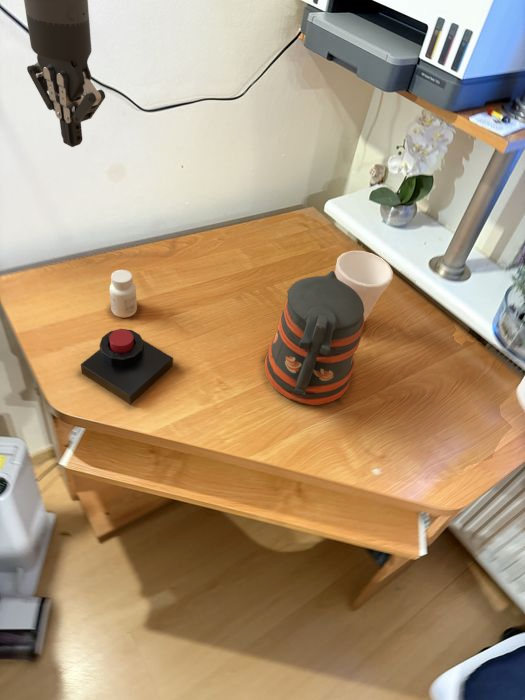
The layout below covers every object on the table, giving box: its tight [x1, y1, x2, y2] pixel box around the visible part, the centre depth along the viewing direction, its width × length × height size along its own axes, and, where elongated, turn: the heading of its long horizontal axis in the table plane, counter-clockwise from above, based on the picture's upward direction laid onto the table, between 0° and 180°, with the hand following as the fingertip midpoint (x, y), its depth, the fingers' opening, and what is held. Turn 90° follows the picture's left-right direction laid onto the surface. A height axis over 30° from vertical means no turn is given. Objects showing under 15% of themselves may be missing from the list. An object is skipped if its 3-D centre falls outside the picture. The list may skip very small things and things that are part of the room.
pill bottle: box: [108, 269, 138, 318], centre depth 89 cm, size 4×4×8 cm
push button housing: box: [80, 328, 174, 406], centre depth 81 cm, size 10×10×4 cm
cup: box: [334, 250, 394, 321], centre depth 93 cm, size 10×10×13 cm
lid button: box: [109, 328, 134, 354], centre depth 81 cm, size 4×4×2 cm
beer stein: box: [264, 270, 366, 406], centre depth 79 cm, size 19×15×20 cm
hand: (72, 143), depth 77 cm, fingers closed
